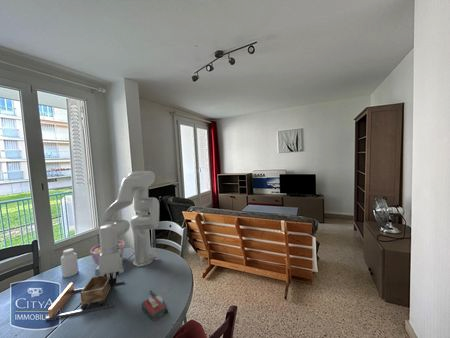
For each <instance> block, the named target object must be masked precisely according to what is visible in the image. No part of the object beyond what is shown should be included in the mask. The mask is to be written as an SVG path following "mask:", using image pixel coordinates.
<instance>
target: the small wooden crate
mask: <svg viewBox="0 0 450 338" xmlns="http://www.w3.org/2000/svg"><path fill="white" fill-rule="evenodd" d="M113 287H114V286H112V287H110V284H109V279H108V278H107V277H105V276H96V275H95V276H91V278H89V280H88V282H87V283H86V285H85V286H84V287H83V288H84V289H83V290H82V291H81V292H80V302H79V305H80V310H82V309H87V308H89V304H92V303H97V306H101V305H105V303H106V298H107V296H108V294H109V291H110V289H113Z"/></svg>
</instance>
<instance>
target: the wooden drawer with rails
mask: <svg viewBox="0 0 450 338" xmlns="http://www.w3.org/2000/svg"><path fill="white" fill-rule="evenodd" d="M122 284H125V280H117V282H116V283H115V285H114V286H117V285H122ZM83 289H84V287H80V288H75V287H74V282H70V283H69V284H68V285H67V286H66V288H64V290H63V291H62V292H61V294H59V296H58V297H57V298H56V300H54V302H53V303H52V304H51V305H50V306H49V308H48V316H46V317H45V321H46V320H48V321H52V320H51V319H53V320H56V319H55V318H58V319H60V318H59V317H63V318H66V317H67V316H68V317H72V316H75V315H81V314H87V313H90V312H96V311H100V310H105V309H110V308H115V306H116V303H115V302H112V303H107V304H104V305H101V306H99V305H97V306H92V307H87V309H77V310H72V311H68V312H63V313H57V315H55V313H56V312H57V310H58V309H60V310H61V309H62V308H63V307H64V306H63V305H65V304H66V303H67V301H68V300H69V299H70V297H71V296H73V295H74V294H73V293H81V292H82V290H83ZM68 317H67V318H68Z"/></svg>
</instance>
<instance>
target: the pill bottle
mask: <svg viewBox="0 0 450 338" xmlns="http://www.w3.org/2000/svg"><path fill="white" fill-rule="evenodd" d="M78 262H79V261H78V254H77V253H76V252H75V249H74V248H67V249H64V250H63V251H62V256H61V257H60V266H61V275H62V278H70V277H73V276H75V275H76V274H78V273H79V263H78Z"/></svg>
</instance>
